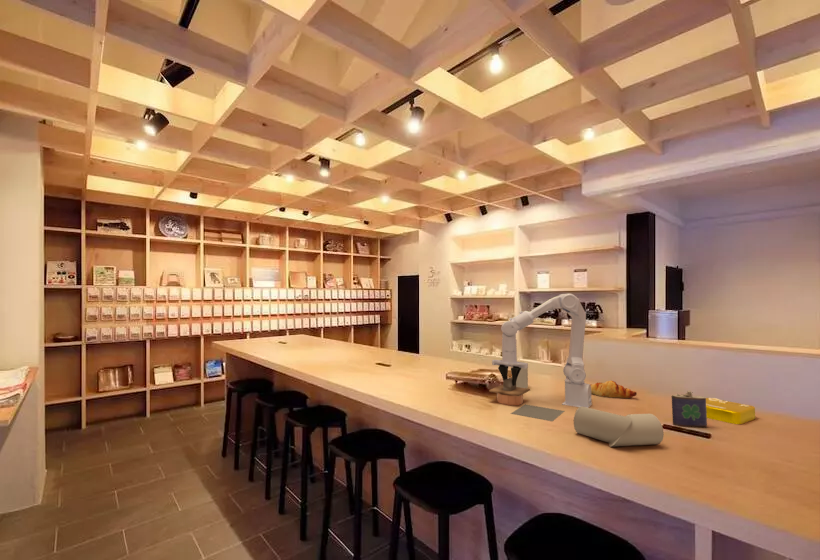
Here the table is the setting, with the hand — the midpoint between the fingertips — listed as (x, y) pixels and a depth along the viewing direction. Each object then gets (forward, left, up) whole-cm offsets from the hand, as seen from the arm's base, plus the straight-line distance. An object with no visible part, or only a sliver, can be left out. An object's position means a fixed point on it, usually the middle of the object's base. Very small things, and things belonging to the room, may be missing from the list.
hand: (509, 384), depth 157 cm
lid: (0, 0, -2) cm, 3 cm away
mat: (-14, +8, -7) cm, 18 cm away
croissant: (-30, -37, -8) cm, 48 cm away
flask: (-59, -8, -7) cm, 60 cm away
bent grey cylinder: (-41, +21, -8) cm, 47 cm away
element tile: (-68, -28, -8) cm, 74 cm away
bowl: (0, 0, -7) cm, 7 cm away
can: (+6, -26, -7) cm, 28 cm away
